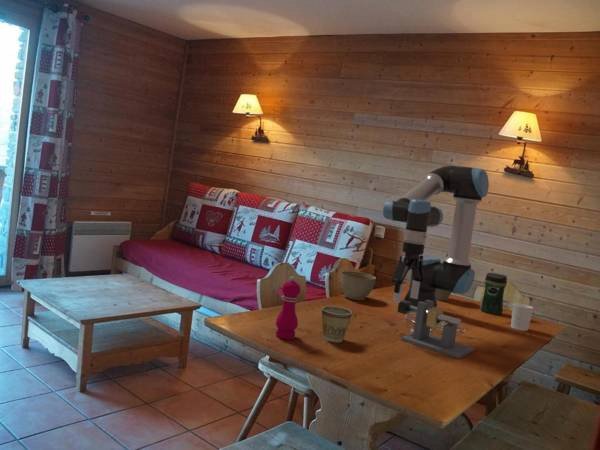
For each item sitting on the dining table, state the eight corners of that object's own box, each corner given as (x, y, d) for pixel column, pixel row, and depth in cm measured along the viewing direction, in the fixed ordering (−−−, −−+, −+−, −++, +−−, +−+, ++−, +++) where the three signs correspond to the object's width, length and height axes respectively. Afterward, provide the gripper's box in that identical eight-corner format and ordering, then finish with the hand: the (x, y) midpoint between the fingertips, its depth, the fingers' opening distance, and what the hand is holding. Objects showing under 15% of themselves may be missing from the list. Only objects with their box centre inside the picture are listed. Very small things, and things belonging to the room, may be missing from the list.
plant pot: (456, 299, 269) (461, 268, 267) (452, 304, 255) (457, 272, 254) (427, 293, 275) (431, 263, 273) (421, 298, 261) (426, 266, 259)
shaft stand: (401, 339, 186) (406, 301, 185) (419, 333, 197) (424, 296, 195) (458, 358, 173) (465, 317, 172) (474, 351, 184) (480, 311, 182)
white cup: (531, 332, 220) (535, 309, 219) (511, 329, 221) (515, 306, 220) (526, 327, 228) (530, 305, 227) (507, 324, 229) (511, 302, 228)
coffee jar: (503, 313, 250) (509, 275, 248) (499, 316, 243) (506, 276, 241) (482, 308, 255) (488, 270, 253) (478, 311, 248) (484, 272, 246)
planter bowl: (364, 304, 232) (368, 280, 231) (331, 296, 240) (335, 273, 239) (378, 299, 246) (381, 276, 245) (346, 291, 254) (349, 269, 253)
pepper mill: (273, 331, 177) (281, 273, 175) (295, 333, 177) (302, 275, 175) (274, 338, 169) (282, 277, 167) (296, 340, 170) (304, 280, 168)
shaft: (397, 311, 192) (399, 301, 192) (402, 310, 196) (404, 300, 195) (456, 329, 179) (458, 317, 178) (461, 327, 182) (462, 316, 181)
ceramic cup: (327, 345, 170) (331, 314, 169) (312, 334, 179) (316, 306, 178) (361, 343, 176) (365, 314, 175) (345, 333, 185) (349, 305, 184)
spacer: (425, 325, 184) (428, 308, 184) (433, 323, 189) (435, 306, 188) (433, 327, 183) (436, 311, 182) (441, 325, 187) (443, 308, 187)
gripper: (407, 244, 178) (397, 306, 180) (438, 243, 198) (429, 299, 200) (387, 240, 183) (378, 300, 185) (420, 240, 203) (411, 294, 204)
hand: (405, 300), depth 192 cm, fingers open, 13 cm apart
